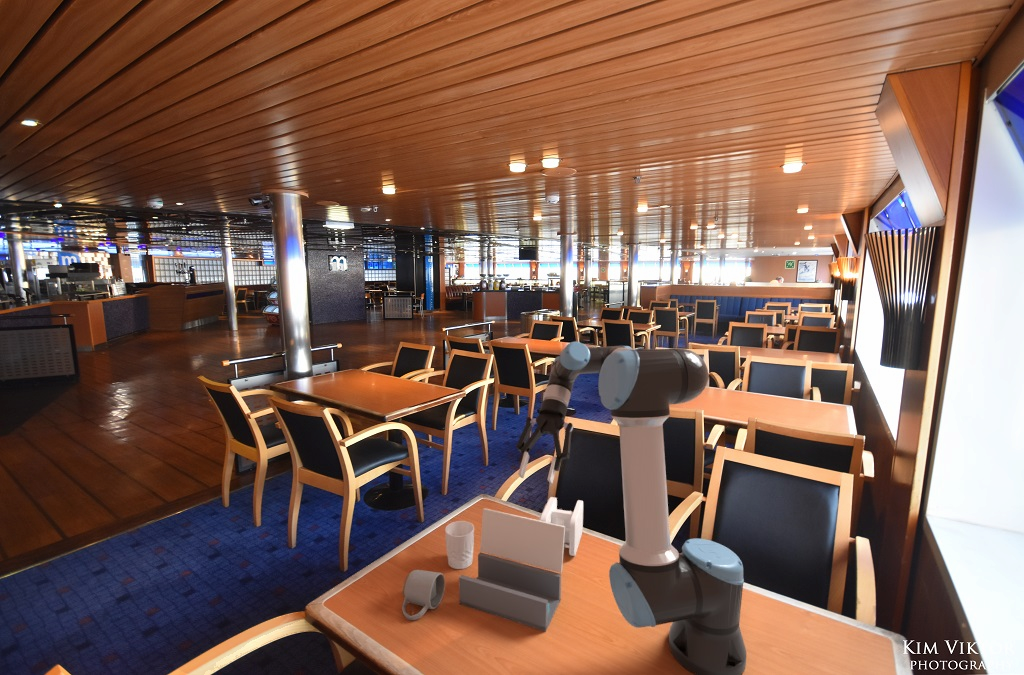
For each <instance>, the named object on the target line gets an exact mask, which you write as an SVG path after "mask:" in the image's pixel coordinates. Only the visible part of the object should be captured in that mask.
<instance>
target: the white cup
mask: <svg viewBox="0 0 1024 675" xmlns="http://www.w3.org/2000/svg"><path fill="white" fill-rule="evenodd" d="M444 532H445V545H446V547H445V549H446V555H447V563H448V566H449V567H451V568H452V569H455V570H464V569H468V568H469V567H470V566H471V565H472V563H473V561H474V546H475V544H474V542H475V526H474V524H473V523H472V522H470V521H466V520H456V521H453V522H450V523H449V524H447V525H446V526H445V528H444Z"/></svg>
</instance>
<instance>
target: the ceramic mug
mask: <svg viewBox="0 0 1024 675" xmlns="http://www.w3.org/2000/svg"><path fill="white" fill-rule="evenodd" d="M445 588H446V579H445V575H444V574H443V573H442V572H437V571H429V570H422V569H413V570H412V571H410V572H409V573H408V574H407V576H406V577H405V579H404V582H403V588H402V596H403V598H404V601H403V603H402V607H401V610H402V613H403V616H404V617H405V618H406V619H407V620H409V621H416V620H417V621H418V620H419V619H421V618H422V617H423V616H424V615H425V613H426V612H427V611H428V610H429V609H430V610H435V609H437V608H438V607H439V605H440V604H441V602H442V600H443V598H444V594H445ZM408 603H410V604H414V605H418V606H420V607H422V608H421V610H420V611H418V613H416V614H412V615H410V614H409V612H407V611H406V609H407V606H408Z"/></svg>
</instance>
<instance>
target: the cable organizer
mask: <svg viewBox="0 0 1024 675" xmlns="http://www.w3.org/2000/svg"><path fill="white" fill-rule="evenodd" d="M557 499H558V497H555V496H554V497H553V496H550V497H549V499H547V503H545V505H544V508H543V509H542V512H541V514H540V515H539V518H538V520H540V521H544V522H549V523H553V524H557V525H562V526H565V537H564V550H565V549H566V548H567V549H568V552H569V556H572V557H576V555H577V551H578V548H579V545H580V542H581V539H582V535H583V530H584V526H583V525H584V501H583V500H580V499H578V500H577V501H576V503H575V506H574V510H573V511H572V510H571V509H570V510H565V509H564V510H563V509H560V508H559V509H558V507H557V506H558V500H557Z"/></svg>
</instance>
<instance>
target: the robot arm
mask: <svg viewBox="0 0 1024 675" xmlns="http://www.w3.org/2000/svg"><path fill="white" fill-rule="evenodd" d="M582 374H583V375H584V374H585V375H586V374H598V375H599V376H598V396H599V397H600V402H601V404H602V405H603V407H604V408H606V409H608V410H610V417H611V418H612V419H613V420H614V421H615V422H616V423H617V424H618V428H619V444H620V460H621V463H620V464H621V477H622V494H623V495H622V496H623V510H624V512H623V513H624V528H625V530H624V531H625V543H623V544H622V545H621V546H620V548H619V549H618V553H619V554H618V557H619V560H618V562H615V563H613V564H611V565H610V566H609V572H608V573H609V574H608V578H609V585H610V588H611V592H612V596H613V598H614V601H615V603H616V606H617V607H618V610H619V611H620V613H621V615H622V617H623V618H624V620H625V621H626V622H627V623H628V624H629V625H631V627H634V628H647V627H651V628H655V627H656V626H659V625H664V624H671V625H670V628H669V631H668V632H669V633H668V646H669V649H670V652H671V653H672V655H673V657H674V659H676V661H677V662H678V663H679V664H680V665H682V667H684V669H686V670H688V671H689V672H690V673H692V674H694V675H742V674H743V673H744V672H745V670H746V667H747V666H746V665H747V650H746V645H745V642H744V638H743V634H742V632H741V627H740V622H741V621H740V619H741V607H742V600H743V599H742V598H743V588H744V583H745V579H744V565H743V562H742V560H741V559H740V557H739V556H738V555H737V554H736V553H735V552H734V551H733V550H731V549H730V548H729V547H726V546H725V545H722V544H721V543H718V542H716V541H713V540H709V539H707V538H706V539H704V538H696V537H695V538H690V539H689V538H688V539H687V540H685V542H684V543H683V545H682V547H681V551H682V552H681V553H679V551H678V550H677V548H675V547H674V546H673V545H672V544H671V537H670V532H671V531H670V521H669V519H670V518H669V517H670V516H669V506H668V504H669V502H668V488H667V474H666V473H667V472H666V459H665V458H666V456H665V441H664V428H663V427H664V425H663V424H664V423H665V421H667V419H669V417H670V416H671V412H670V405H680V404H681V405H682V404H685V403H688V402H691V401H692V400H694V399H697V397H698V396H700V395H701V394H702V393H703V391H704V390H705V389H706V386H707V384H708V381H709V370H708V367H707V364H706V363H705V361H704V359H703V358H702V356H700V355H699V354H698V353H696V352H694V351H692V350H690V349H686V348H681V347H680V348H679V347H677V348H676V347H671V348H670V347H669V348H651V349H650V348H648V349H647V348H646V349H645V348H644V349H637V348H632V347H631V346H629V345H614V346H613V345H611V346H610V345H609V346H591V347H590V346H589V347H588V346H587V345H586V344H585V343H582V342H580V341H571V342H568V344H567V345H566V346H565V347H564V348H563V349H562V351H561V352H560V354H559V356H556V357H555V358H554V360H553V364H552V365H551V370H550V374H549V378H548V381H547V386H546V388H545V392H544V395H543V399H542V402H541V406H540V409H539V413H538V415H537V416H536V418H535V417H534V418H531V417H530V416H528V417H527V418H526V423H525V426H524V428H523V431H522V432H521V434H520V437H519V439H518V440H517V444H516V446H515V447H516V449H517V450H518V452H520V454H519V458H518V464H520V466H519V470H518V473H517V474H518V476H519V477H520V478H521V479H524V477H525V473H526V470H527V467H528V463H529V460H530V455H529V452H530V451H531V450H532V448H533V447H534V446H535V444H536V443H537V442H538V441H539V439H540V438H541V437H542V436H543V435H551V436H553V443H554V448H555V456H552V460H551V465H550V468H549V472H548V476H547V479H546V480H547V481H548V483H549V484H553V483H554V479H555V475H556V472H559V471H560V468H561V465H562V461H563V460H569V459H570V456H571V455H570V454H571V440H572V433H573V431H574V426H573V423H572V422H565V421H566V420H565V418H566V415H567V411H568V406H569V403H570V400H571V396H572V389H573V388H574V387H573V386H574V384H575V380H576V379H578V377H579V375H582ZM535 424H537V426H536V427H535ZM533 427H535V429H534V432H533V433H532V434H531V432H532V430H533ZM563 428H564V429H563ZM562 429H563V430H564V438H563V439H564V440H563V441H564V442H563V452H562V447H561V441H560V434H559V432H560V431H561V430H562Z"/></svg>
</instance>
